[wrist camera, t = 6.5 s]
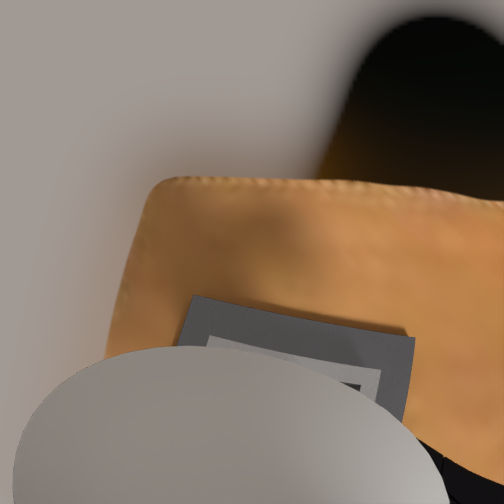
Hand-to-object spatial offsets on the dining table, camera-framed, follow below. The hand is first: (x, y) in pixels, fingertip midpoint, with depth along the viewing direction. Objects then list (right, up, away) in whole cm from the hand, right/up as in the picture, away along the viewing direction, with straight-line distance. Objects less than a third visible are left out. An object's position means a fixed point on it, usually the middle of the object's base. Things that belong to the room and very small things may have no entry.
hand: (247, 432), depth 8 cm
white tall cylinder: (+1, -4, +5) cm, 7 cm away
